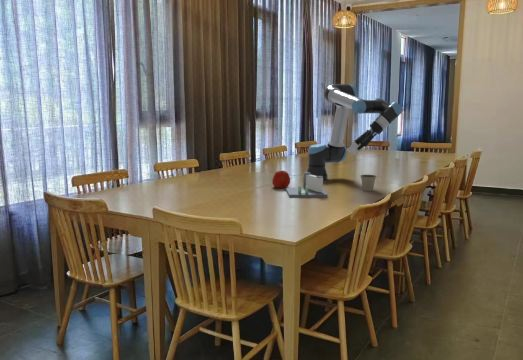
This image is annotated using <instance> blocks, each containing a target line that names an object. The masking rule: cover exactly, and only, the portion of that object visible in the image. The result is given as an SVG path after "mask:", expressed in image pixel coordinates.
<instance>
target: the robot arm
mask: <svg viewBox="0 0 523 360" xmlns="http://www.w3.org/2000/svg"><path fill="white" fill-rule="evenodd" d="M323 97H324V98H325V100H326V101H327V102H329V103H331V104H334V105H335V106H336V109H335V115H334V118H333V124H332V130H331V137H330V140H329V141H327V144H325V143H318V144H317V143H316V144H312V145H310V146H309V147H308V159H307V160H308V161H307V164H308V166H307V170H306V172H310V173H311V175H315V176H323V181H325V180H328V178H329V177H328V176H329V175H328V173H327V168H326V164H331V163H332V164H333V163H334V164H337V163H341V162H343V161H345V160H346V158H347V156H348V155H347V154H348V153H349V154H351V153H352V154H353V155H354V156H356V155H358V153H359V152H360V151H361V150H362V149H364V148H365V147H367V146H368V145H369V144H370V143H371V142H372V140H373V139H374V138H375V137H376V136H378V135H380V134H381V133H382V132H383V131H384V130H385V129H386V128H389V126H390V124H392V123H393V122H394V121H395V120H396V118H398V117H399V116H400V115H401V114H402V113H403V111H404V110H403V109H404V108H403V107H402V105H400V104H399V103H398V102H397V101H393V102H392V103H389V102H388V101H386V100H384V99H382V98H379V97H377V98H374V99H373V100H372V99H363V98H360V97H359V92H358V89H357V87H356V86H355V85H353V84H349V83H332V84H330V85H327V86H326V87H325V89H324V91H323ZM350 110H352V113H355V114H359V115H361V114H379V115H378V116H377V117H376V118H375V120H374V121H371V123H370V124H369V127H370V129H367V130H365V132H363V133H362V134H361V135H360V136H359V137H357V138H356V139H355V140H354V142H353V143H352V144H351V145H350V146H349V147H348V148H347V147H346V144H345V143H344V139H345V134H346V128H347V123H348V118H349V114H350Z"/></svg>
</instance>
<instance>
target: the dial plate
mask: <svg viewBox="0 0 523 360" xmlns="http://www.w3.org/2000/svg"><path fill="white" fill-rule="evenodd" d="M285 191H286V194H287V195H288V197H289V198H328V193H327V192H326V191H325V189H323V192H316V191H313V190H310V189H308V187H307V186H306V187H305V188H303V187H302V186H301V185H299V186H298V187H285Z"/></svg>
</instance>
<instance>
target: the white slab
mask: <svg viewBox="0 0 523 360" xmlns="http://www.w3.org/2000/svg"><path fill="white" fill-rule="evenodd" d="M302 186H303V187H302V188H305V187H306V186H307V187H308V189H310V190H313V191H316V192H323V190H324V188H323V187H324V180H323V176H315V175H311V173H310V172H307V171H305V172H303V185H302Z"/></svg>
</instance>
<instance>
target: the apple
mask: <svg viewBox="0 0 523 360" xmlns="http://www.w3.org/2000/svg"><path fill="white" fill-rule="evenodd" d="M290 184H291V177H290V175H289V173H288V172H287V171H285V170H278V171H276V172H274V175H273V177H272V185H273V187H274V188H276V189H284V188H285V189H286V188H289V185H290Z"/></svg>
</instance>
